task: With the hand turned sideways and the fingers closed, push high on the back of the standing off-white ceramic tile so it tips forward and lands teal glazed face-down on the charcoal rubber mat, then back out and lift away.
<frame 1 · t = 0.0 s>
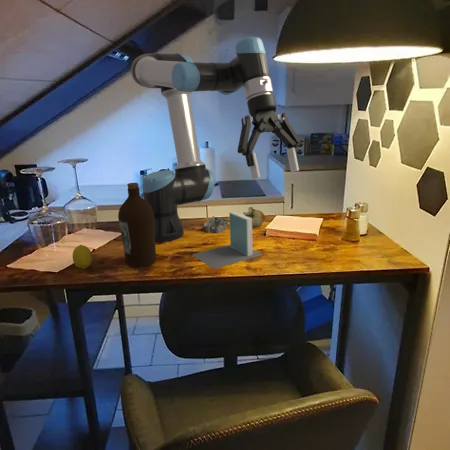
hand: (276, 174, 110), 28 cm above the table, tool tilted 20°, fingers open, 13 cm apart
egg carton: (216, 229, 157), on the table
mat: (227, 256, 129), on the table
tile: (241, 250, 132), point 1 cm above the table, touching mat
onion: (254, 227, 157), on the table
lemon: (84, 269, 124), on the table
olive oil: (140, 262, 128), on the table
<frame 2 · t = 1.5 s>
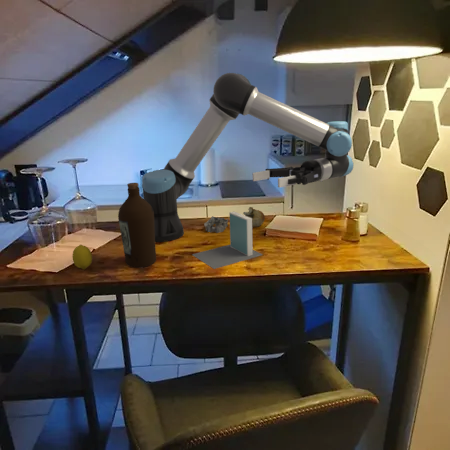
hand: (265, 179, 130), 23 cm above the table, tool horizontal, fingers open, 13 cm apart
nothing on the table moved.
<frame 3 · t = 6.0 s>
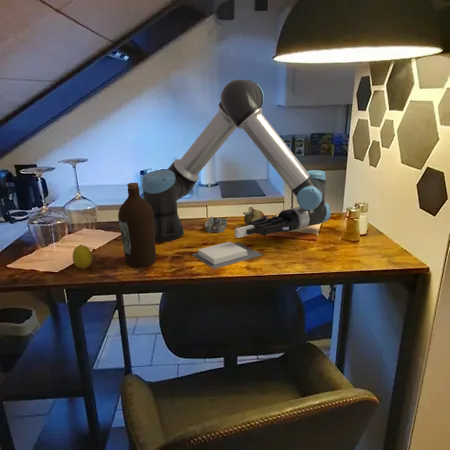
hand: (236, 233, 129), 7 cm above the table, tool horizontal, fingers closed
tile: (238, 248, 131), point 2 cm above the table, tilted 90°, touching mat
everything else where it was.
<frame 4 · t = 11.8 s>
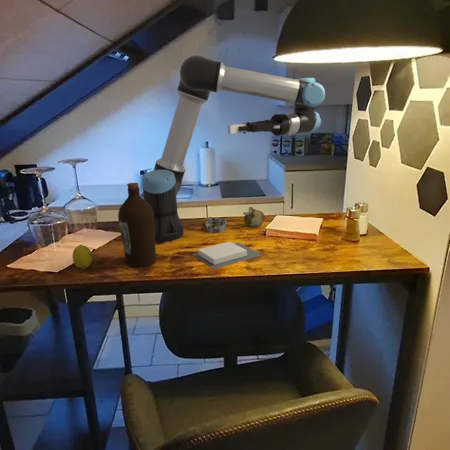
hand: (229, 129, 135), 38 cm above the table, tool horizontal, fingers closed
nothing on the table moved.
at the end: tile tilted 90°; tile inside the target area (0.1 cm from its centre), point 1.7 cm above the table; tile touching mat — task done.
